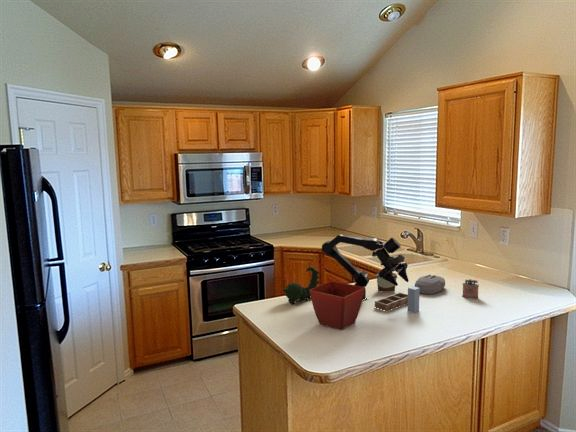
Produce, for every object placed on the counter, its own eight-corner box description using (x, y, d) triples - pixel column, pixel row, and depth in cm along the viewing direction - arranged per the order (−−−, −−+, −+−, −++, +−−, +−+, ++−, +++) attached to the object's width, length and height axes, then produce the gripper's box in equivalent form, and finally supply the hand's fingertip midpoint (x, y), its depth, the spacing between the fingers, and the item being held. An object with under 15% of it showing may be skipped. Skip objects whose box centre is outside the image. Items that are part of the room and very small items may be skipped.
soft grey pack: (424, 283, 255) (409, 292, 240) (424, 270, 254) (409, 277, 239) (449, 288, 245) (435, 297, 230) (449, 274, 244) (435, 282, 229)
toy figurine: (310, 296, 240) (276, 303, 224) (311, 264, 239) (278, 268, 222) (321, 300, 233) (288, 307, 217) (323, 267, 232) (289, 271, 215)
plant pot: (331, 312, 211) (331, 280, 208) (365, 321, 198) (365, 286, 196) (309, 324, 196) (308, 289, 194) (344, 334, 184) (343, 297, 182)
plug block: (414, 313, 207) (414, 289, 206) (407, 310, 211) (407, 287, 209) (419, 311, 210) (419, 288, 208) (412, 309, 213) (412, 286, 211)
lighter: (461, 297, 229) (462, 279, 228) (462, 295, 232) (463, 278, 230) (478, 299, 225) (478, 281, 224) (478, 297, 228) (479, 279, 227)
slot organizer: (386, 311, 210) (386, 305, 209) (374, 307, 216) (374, 301, 215) (411, 302, 223) (411, 295, 223) (399, 298, 229) (399, 292, 229)
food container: (395, 288, 246) (395, 272, 245) (397, 291, 240) (397, 275, 239) (374, 288, 248) (374, 271, 246) (375, 291, 241) (375, 274, 240)
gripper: (383, 252, 209) (401, 278, 203) (405, 247, 221) (423, 271, 214) (370, 265, 217) (387, 290, 210) (392, 259, 228) (409, 283, 221)
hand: (402, 283), depth 214 cm, fingers open, 9 cm apart
